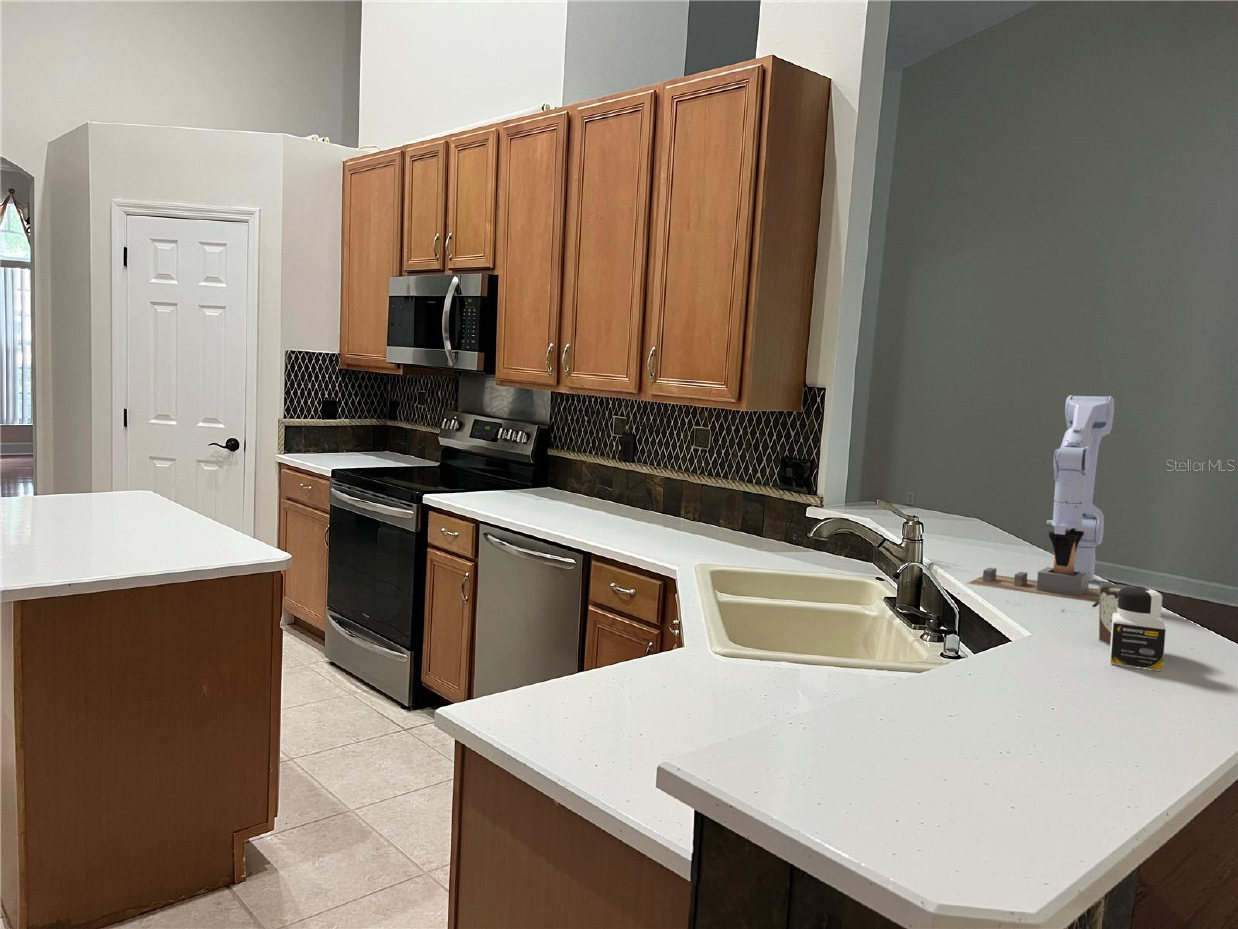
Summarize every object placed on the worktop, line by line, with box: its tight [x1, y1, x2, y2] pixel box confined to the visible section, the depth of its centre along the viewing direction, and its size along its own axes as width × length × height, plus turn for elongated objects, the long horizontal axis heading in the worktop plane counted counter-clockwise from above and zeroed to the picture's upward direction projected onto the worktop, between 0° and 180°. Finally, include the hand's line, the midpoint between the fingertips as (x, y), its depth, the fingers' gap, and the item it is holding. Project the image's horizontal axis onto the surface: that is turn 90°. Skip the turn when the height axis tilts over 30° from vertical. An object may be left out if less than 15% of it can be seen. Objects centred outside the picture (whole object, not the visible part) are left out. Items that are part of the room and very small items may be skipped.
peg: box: [1053, 543, 1075, 575], centre depth 197 cm, size 4×4×7 cm
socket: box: [1036, 566, 1090, 596], centre depth 198 cm, size 9×9×4 cm
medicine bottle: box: [1109, 586, 1167, 672], centre depth 144 cm, size 7×7×12 cm
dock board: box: [966, 567, 1100, 608], centre depth 201 cm, size 16×26×4 cm, turn 52°
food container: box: [1097, 582, 1132, 647], centre depth 154 cm, size 12×6×10 cm, turn 179°
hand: (1064, 564), depth 198 cm, fingers closed on peg, 4 cm apart
